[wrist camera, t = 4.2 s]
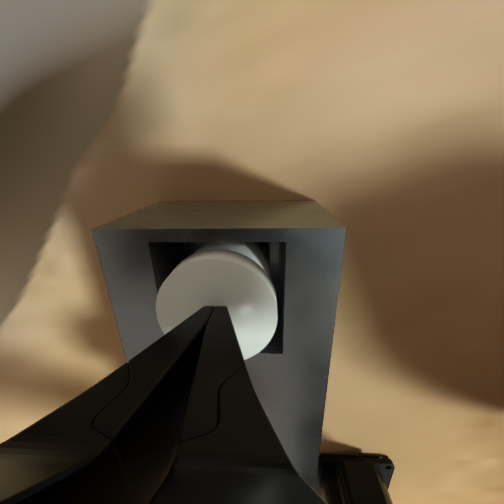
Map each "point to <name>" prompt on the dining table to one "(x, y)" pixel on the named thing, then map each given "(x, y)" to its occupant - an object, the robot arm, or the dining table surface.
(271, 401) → the press block
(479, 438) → the dining table surface
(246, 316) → the plunger
